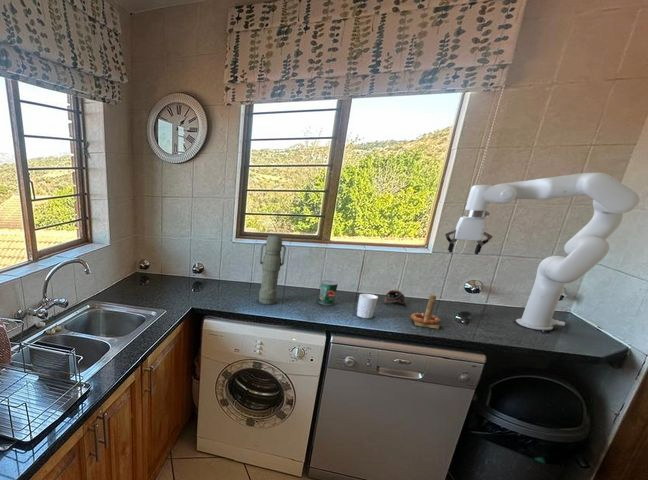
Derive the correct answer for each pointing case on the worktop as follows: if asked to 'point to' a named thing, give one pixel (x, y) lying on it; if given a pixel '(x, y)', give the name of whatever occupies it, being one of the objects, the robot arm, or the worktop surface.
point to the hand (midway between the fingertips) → (462, 253)
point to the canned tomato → (327, 292)
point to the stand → (428, 313)
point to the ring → (415, 317)
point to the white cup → (366, 305)
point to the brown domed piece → (394, 297)
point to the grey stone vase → (271, 268)
